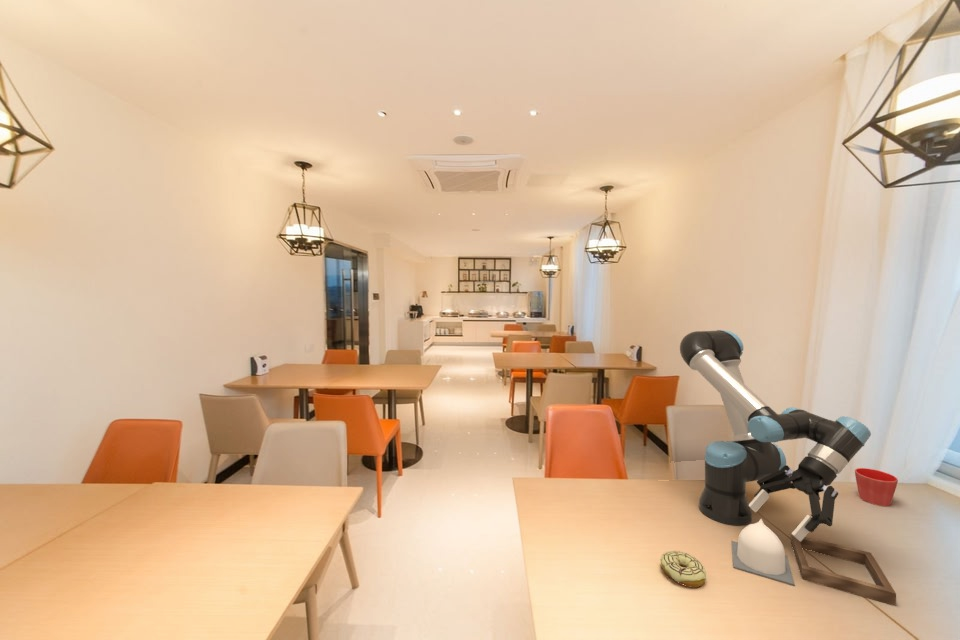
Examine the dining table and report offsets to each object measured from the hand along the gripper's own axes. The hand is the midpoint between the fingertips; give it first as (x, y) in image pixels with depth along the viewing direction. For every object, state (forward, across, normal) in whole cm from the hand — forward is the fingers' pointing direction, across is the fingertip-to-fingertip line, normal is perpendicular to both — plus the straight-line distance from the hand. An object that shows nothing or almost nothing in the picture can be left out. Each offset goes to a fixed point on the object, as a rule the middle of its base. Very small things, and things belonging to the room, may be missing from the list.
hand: (772, 522), depth 104 cm
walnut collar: (-2, -6, -18) cm, 19 cm away
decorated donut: (+27, -1, +11) cm, 30 cm away
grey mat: (+10, 0, -6) cm, 12 cm away
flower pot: (-37, +23, -54) cm, 69 cm away
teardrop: (+10, 0, -6) cm, 11 cm away
